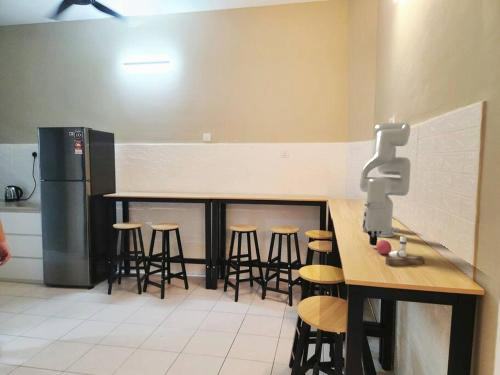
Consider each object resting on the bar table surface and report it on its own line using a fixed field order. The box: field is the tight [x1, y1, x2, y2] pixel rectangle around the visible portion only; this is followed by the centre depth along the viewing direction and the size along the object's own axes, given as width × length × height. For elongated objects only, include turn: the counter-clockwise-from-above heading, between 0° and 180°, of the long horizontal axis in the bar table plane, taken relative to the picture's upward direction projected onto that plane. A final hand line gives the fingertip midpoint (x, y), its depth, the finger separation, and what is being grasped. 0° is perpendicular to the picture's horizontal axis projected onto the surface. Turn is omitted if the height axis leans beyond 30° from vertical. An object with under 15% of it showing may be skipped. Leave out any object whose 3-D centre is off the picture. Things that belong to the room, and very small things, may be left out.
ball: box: [376, 240, 392, 255], centre depth 136 cm, size 6×6×6 cm
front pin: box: [387, 250, 407, 258], centre depth 128 cm, size 3×3×9 cm
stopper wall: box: [385, 255, 426, 267], centre depth 124 cm, size 16×2×2 cm, turn 101°
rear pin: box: [398, 235, 408, 253], centre depth 131 cm, size 3×3×9 cm
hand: (373, 244), depth 146 cm, fingers closed
